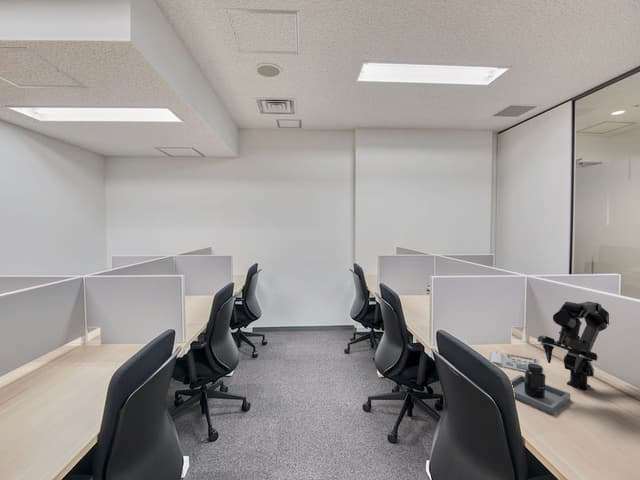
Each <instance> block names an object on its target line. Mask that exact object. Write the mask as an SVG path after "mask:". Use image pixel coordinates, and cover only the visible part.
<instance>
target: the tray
mask: <svg viewBox="0 0 640 480" xmlns="http://www.w3.org/2000/svg"><path fill="white" fill-rule="evenodd" d="M510 380H511V382H512V385H513V388H514V393H515V398H516V399H515V398H514V399H515V400H517V401H519V402H522V403H524V404H527V405H528V406H530V407H533V408H536V409H538V410H540V411H543V412H545V413H547V414H549V415H551V416H553V415H554V414H556V413H557V412H558V411H559V410H560V409H561V408H563V407H564V406H565V405H566V404H567V403H568V402H570V401H571V393H570V392H567V391H565V390H562V389H559V388H557V387H554V386H551V385H549V384H547V383H545V397H544V398H535V397H532V396H529V395H528V394H526V393H525V390H524V386H525V375H521V374H519V375H517V376H516V377H514V378H512V379H510Z"/></svg>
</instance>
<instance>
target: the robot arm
mask: <svg viewBox="0 0 640 480" xmlns="http://www.w3.org/2000/svg"><path fill="white" fill-rule="evenodd" d="M609 315H610V313H609V311H607V310H606V309H605V308H603V306H602V304H601V303H599V302H593V301H585V302H579V303H577V302H570V301H565V302H564V303H563V304H562V305H561V306H560V308H559V309H558V310H557V312H555V313H554V314H553V316H552V320H553V322H554V323H555V324H556V325H558V326H559V327H561V329H560V331H558V334H559V337H558V340H556V341H555V338H552V337H549V336H546V335H539V336H538V337H537V342H538V343H540V345H541V346H542V347H543V350H544V353H545V356H546V361H547V363H548V364H551V361H552V357H553V350H554V348H555V347H558V348H561V349H563V350H567V353H566V354H565V355H564V357H563V364H564V366H563V367H564V369H565V370H568V371H569V375H570V376H569V380H568V381H566V384H567V385H569V386H572V387H575V388H578V389H580V390H582V391H587V390H589V388H590V387H591V385H590V384H588V378H589V377H593V378H594V375H595V374H594V373H595V369H594V367H593V365H592V362H593V361H598V358H599V357H598V354H597V353H596V352H593V351H592V350H593V346H594V344H595V342H596V340H597V338H598V336H599V334H600V333H599V332H602V331H604V330H606V329H607V328H608V326H607V324H608V325H610V324H609ZM580 319H582V320H584V321H585V323H586V325H585V326H584V327H585V328H584V330H583V331H582V334H581V336H580V329H581V325H583V324H582V320H580Z"/></svg>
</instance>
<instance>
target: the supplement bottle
mask: <svg viewBox="0 0 640 480" xmlns="http://www.w3.org/2000/svg"><path fill="white" fill-rule="evenodd" d="M543 371H544V369H543V366H542V365H541V366H540V364H539V365H537V364H533V362H532V363H530V364H528V370H526V371H525V372H524V376H525V386H524V390H525V393H526V394H528V395H529V396H532V397H535V398H544V397H545V384H546V375H544V374H545V373H544V374H543V373H542V372H543Z"/></svg>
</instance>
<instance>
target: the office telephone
mask: <svg viewBox="0 0 640 480" xmlns="http://www.w3.org/2000/svg"><path fill="white" fill-rule="evenodd" d="M512 357H514V358H512ZM519 357H520V358H521V359H525V360H521V359H517V358H519ZM515 358H516V359H515ZM488 360H490V361H491V362H493V363H494V364H496V365H497V366H496V367H499V368H503V367H504V369H509V370H513V371H517V372H523V373H525V371H526V370H528V364H530V363H533V364H537V365H540V364H539V358H534V357H529V356H524V355H519V354H514V353H507V352H506V353H505V356H504V354H503V352H500V351H497V350H496V351H495V350H494V351H490V352H489V356H488ZM527 360H530V361H527ZM532 360H533V361H532ZM540 366H542V365H540ZM542 373H543V374H544V375H545V371H544V370H543V372H542ZM545 376H546V375H545Z"/></svg>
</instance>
